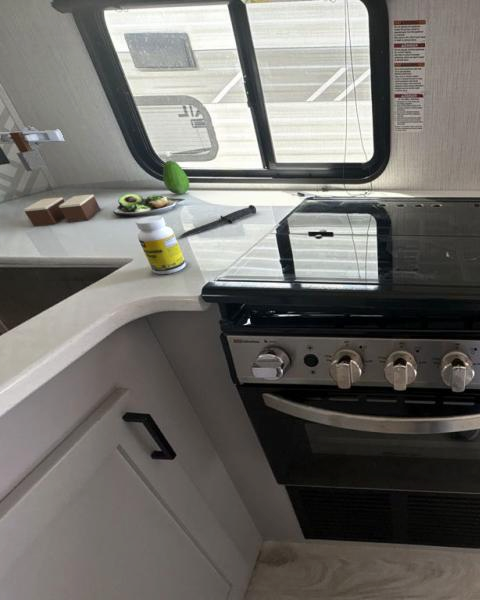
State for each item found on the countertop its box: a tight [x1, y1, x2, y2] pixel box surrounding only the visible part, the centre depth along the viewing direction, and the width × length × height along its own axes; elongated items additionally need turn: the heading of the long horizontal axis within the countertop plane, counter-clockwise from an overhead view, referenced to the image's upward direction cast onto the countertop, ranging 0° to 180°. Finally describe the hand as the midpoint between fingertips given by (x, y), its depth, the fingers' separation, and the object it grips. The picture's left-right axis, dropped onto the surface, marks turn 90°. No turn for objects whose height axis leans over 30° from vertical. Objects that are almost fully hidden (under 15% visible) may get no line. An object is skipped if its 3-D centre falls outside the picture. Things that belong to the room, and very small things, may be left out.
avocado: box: [162, 160, 190, 196], centre depth 123 cm, size 8×8×12 cm
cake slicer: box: [9, 132, 46, 172], centre depth 118 cm, size 10×2×12 cm, turn 23°
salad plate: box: [113, 192, 186, 219], centre depth 109 cm, size 19×18×5 cm
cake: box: [22, 193, 101, 227], centre depth 102 cm, size 12×13×5 cm
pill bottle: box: [135, 215, 187, 275], centre depth 69 cm, size 6×6×11 cm
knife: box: [179, 204, 257, 239], centre depth 95 cm, size 24×5×3 cm, turn 143°
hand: (18, 138), depth 115 cm, fingers closed on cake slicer, 2 cm apart
